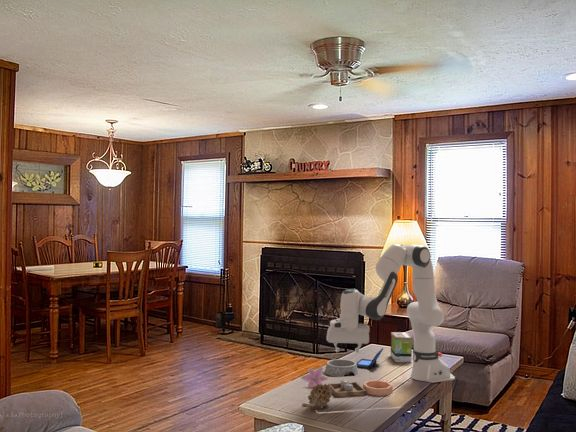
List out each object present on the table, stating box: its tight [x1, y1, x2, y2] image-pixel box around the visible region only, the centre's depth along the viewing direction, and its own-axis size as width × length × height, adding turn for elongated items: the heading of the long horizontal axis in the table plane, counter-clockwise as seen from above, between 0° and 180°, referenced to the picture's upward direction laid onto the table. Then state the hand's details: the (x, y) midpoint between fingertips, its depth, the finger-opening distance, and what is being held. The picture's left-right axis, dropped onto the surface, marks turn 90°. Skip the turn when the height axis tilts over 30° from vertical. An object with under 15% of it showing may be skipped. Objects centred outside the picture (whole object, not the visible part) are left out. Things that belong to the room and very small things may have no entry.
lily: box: [300, 365, 329, 389], centre depth 259 cm, size 12×12×10 cm
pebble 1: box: [340, 379, 350, 391], centre depth 253 cm, size 4×4×4 cm
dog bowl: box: [324, 358, 359, 378], centre depth 285 cm, size 17×18×5 cm
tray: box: [327, 381, 367, 398], centre depth 250 cm, size 15×14×3 cm
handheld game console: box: [356, 347, 384, 370], centre depth 299 cm, size 16×13×9 cm
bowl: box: [362, 379, 394, 397], centre depth 251 cm, size 13×13×4 cm
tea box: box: [390, 331, 413, 363], centre depth 313 cm, size 15×10×15 cm
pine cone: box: [301, 383, 333, 410], centre depth 228 cm, size 22×10×10 cm, turn 153°
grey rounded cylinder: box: [344, 384, 353, 392], centre depth 247 cm, size 4×4×4 cm
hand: (347, 352), depth 250 cm, fingers open, 8 cm apart
